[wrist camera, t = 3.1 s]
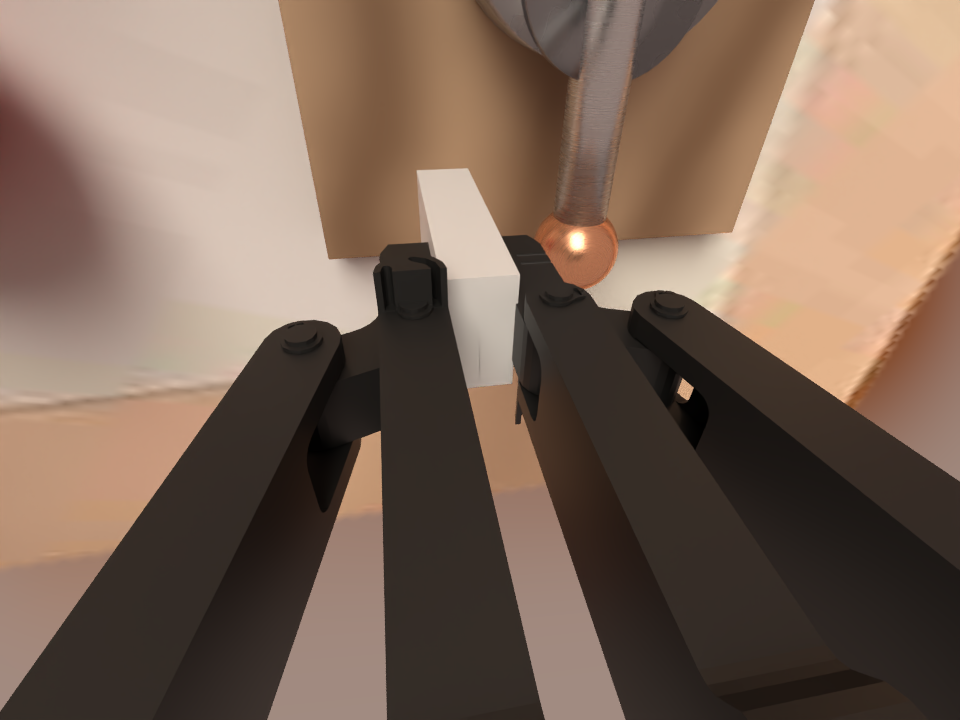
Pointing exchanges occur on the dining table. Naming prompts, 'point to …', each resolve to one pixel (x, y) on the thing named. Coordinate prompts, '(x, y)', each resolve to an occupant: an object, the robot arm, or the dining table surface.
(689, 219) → the board
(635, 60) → the metal ball lever
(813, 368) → the dining table surface
